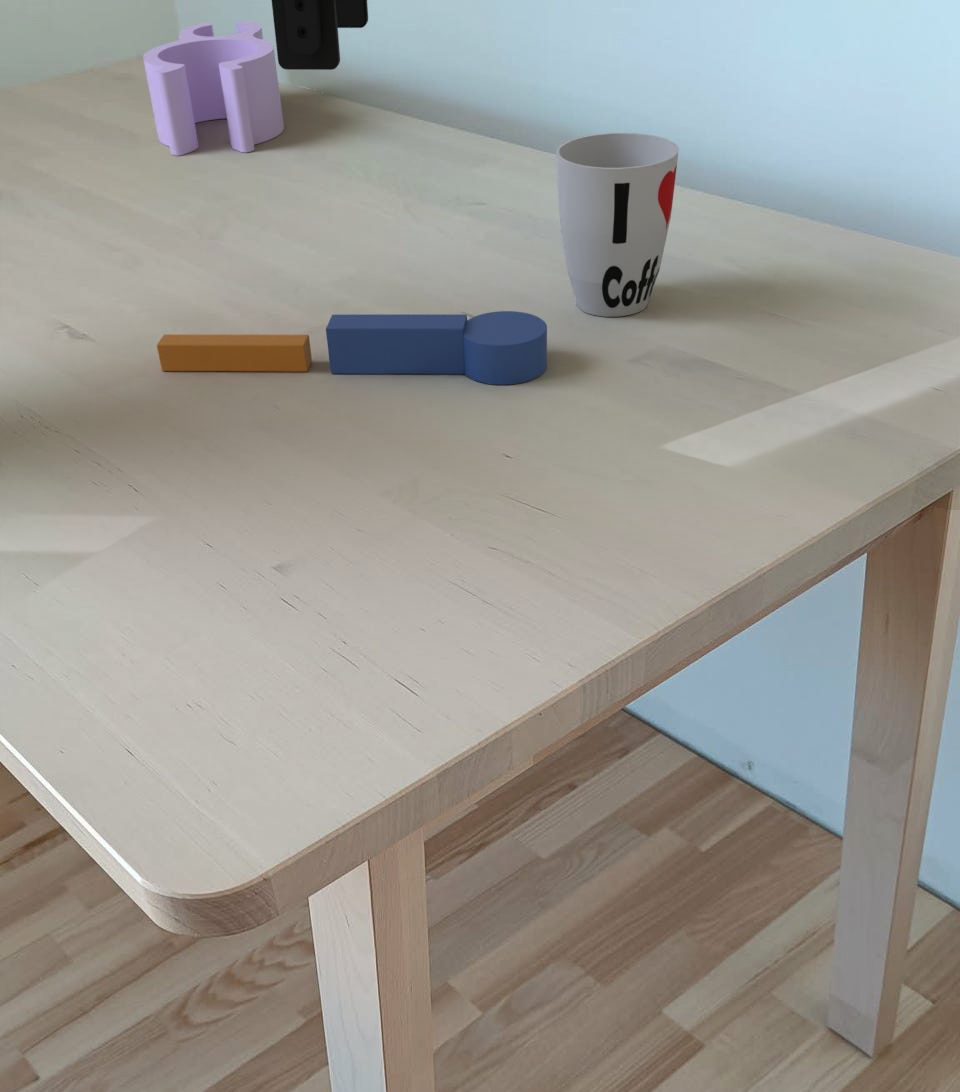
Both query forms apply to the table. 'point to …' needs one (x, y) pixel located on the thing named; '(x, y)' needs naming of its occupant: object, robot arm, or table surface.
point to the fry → (234, 352)
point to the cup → (615, 217)
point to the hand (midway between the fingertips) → (326, 46)
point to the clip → (215, 86)
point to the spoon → (440, 345)
